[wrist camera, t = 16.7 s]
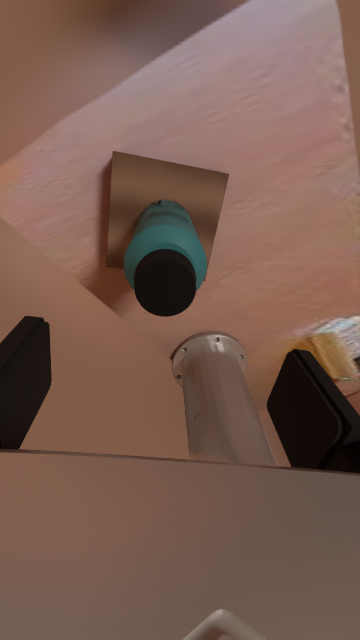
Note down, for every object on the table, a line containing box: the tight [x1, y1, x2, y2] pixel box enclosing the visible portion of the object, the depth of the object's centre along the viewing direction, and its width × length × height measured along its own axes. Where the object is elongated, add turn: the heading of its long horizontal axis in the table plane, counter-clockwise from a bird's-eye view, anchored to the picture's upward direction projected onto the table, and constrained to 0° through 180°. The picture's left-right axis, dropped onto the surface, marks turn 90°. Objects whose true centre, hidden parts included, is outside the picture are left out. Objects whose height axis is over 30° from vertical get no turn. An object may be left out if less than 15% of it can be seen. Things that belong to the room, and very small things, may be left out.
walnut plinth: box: [106, 151, 229, 281], centre depth 36 cm, size 13×13×3 cm
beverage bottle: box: [124, 199, 207, 316], centre depth 26 cm, size 6×7×20 cm
